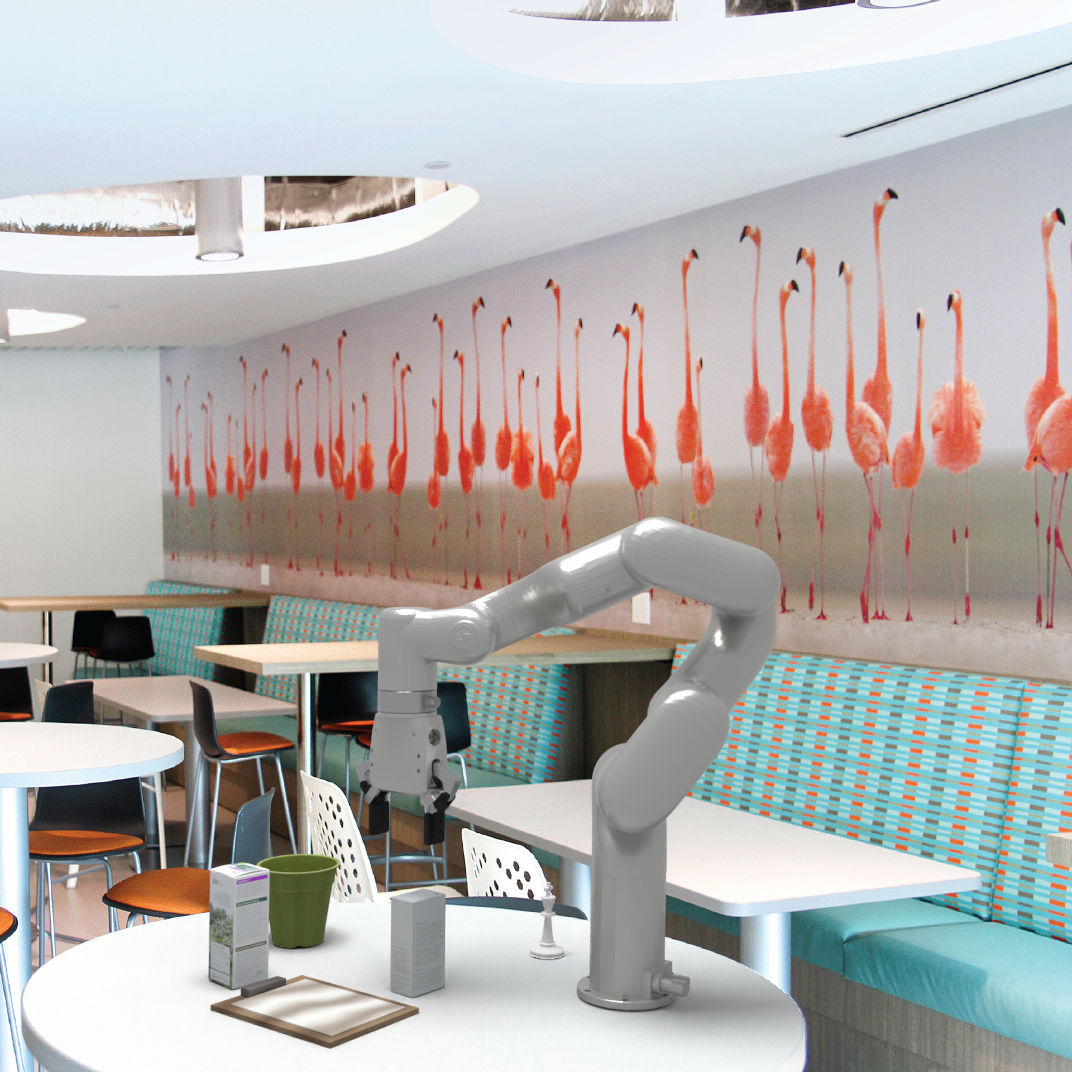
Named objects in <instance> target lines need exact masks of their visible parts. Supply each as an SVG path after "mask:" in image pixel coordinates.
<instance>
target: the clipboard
mask: <svg viewBox="0 0 1072 1072" xmlns="http://www.w3.org/2000/svg"><path fill="white" fill-rule="evenodd" d="M210 1011H213V1012H217V1013H220V1014H222V1015H225V1014H226V1015H225V1016H228V1015H229V1016H228V1017H231V1018H234V1017H235V1019H237V1018H239V1019H238V1020H241V1019H242V1020H241V1021H244V1020H245V1021H244V1022H248V1023H250V1022H251V1024H253V1023H255V1024H254V1025H256V1024H258V1025H257V1026H260V1027H262V1026H263V1027H262V1028H265V1027H266V1029H269V1030H272V1031H275V1032H278V1033H281V1034H285V1035H288V1036H291V1037H293V1038H294V1037H295V1038H297V1039H300V1040H303V1041H306V1042H309V1043H313V1044H316V1045H318V1046H319V1045H320V1046H322V1047H325V1048H328V1049H332V1048H334V1047H336V1046H339V1045H341V1043H342V1044H344V1043H346V1042H349V1041H352V1040H355V1039H356V1038H359V1037H362V1036H364V1035H367V1034H369V1033H371V1032H374V1031H376V1030H378V1029H382V1028H384V1027H387V1026H390V1025H392V1024H394V1023H397V1022H399V1021H401V1020H404V1019H407V1018H410V1017H412V1016H415V1015H417V1014H419V1013H420V1008H419V1007H417V1006H414V1005H410V1004H407V1003H403V1002H399V1001H397V1000H392V999H390V998H385V997H382V996H378V995H374V994H371V993H368V992H363V991H360V990H357V989H354V988H350V987H346V986H343V985H340V984H337V983H336V984H335V983H332V982H329V981H324V980H323V979H322V980H321V979H318V978H314V977H311V976H308V975H307V976H306V975H305V974H303V975H302V974H301V975H297V976H295V977H291V978H289V979H287V978H286V977H283V976H280V975H274V976H272V977H268V979H266V980H263V981H260V982H256V983H253V984H250V985H247V986H244V987H241V988H240V994H239V995H236V996H234V997H231V998H228V999H224V1000H221V1001H218V1002H215V1003H211V1004H210Z"/></svg>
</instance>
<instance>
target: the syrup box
mask: <svg viewBox="0 0 1072 1072" xmlns="http://www.w3.org/2000/svg"><path fill="white" fill-rule="evenodd" d="M269 886H270V870H269V869H266V868H262V867H259V866H256V865H255V864H252V863H249V862H235V863H230V864H229V863H228V864H224V865H220V866H216V867H214V868H210V872H209V919H208V920H209V923H208V924H209V925H208V928H209V929H208V981H210V982H211V981H212V982H214V983H216V984H219V985H221V986H224V987H225V988H229V989H231V990H236V989H237V990H238V989H241V987H244V986H247V985H250V984H253V983H256V982H260V981H263V980H266V979H269V945H270V943H269V941H270V940H269V938H270V936H269V935H270V933H269V931H270V923H269Z"/></svg>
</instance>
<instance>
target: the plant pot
mask: <svg viewBox="0 0 1072 1072" xmlns="http://www.w3.org/2000/svg"><path fill="white" fill-rule="evenodd" d="M340 865H341V860H340V859H338V858H336V857H332V856H329V855H323V854H313V853H297V854H296V853H295V854H285V855H277V856H272V857H267V858H265V859H263V860H259V861H258V862H257V863H256V865H255V866H259V867H262V868H266V869H269V870H270V886H269V931H270V935H271V937H270V938H271V941H272V944H273V945H275V946H276V947H279V946H280V948H284V947H286V948H285V949H295V948H296V947H303V948H312V947H314V946H316V945H319V944H321V943H322V942H323V940H324V937H325V933H326V927H327V926H326V925H327V920H328V913H329V908H330V902H331V897H332V891H333V886H334V885H333V884H334V883H335V879H336V874H337V869H338V868H339V867H340Z"/></svg>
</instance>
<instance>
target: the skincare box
mask: <svg viewBox="0 0 1072 1072" xmlns="http://www.w3.org/2000/svg"><path fill="white" fill-rule="evenodd" d="M446 897H447V896H446V893H443V892H440V891H435V890H433V889H432V890H431V889H428V888H420V889H417V890H413V891H408V892H406V893H401V894H397V895H393V896H391V897H390V898H391V899H390V900H391V901H390V904H391V905H390V968H389V969H390V973H389V974H390V975H389V976H390V979H389V980H390V981H389V983H390V984H389V985H390V986H389V987H390V988H389V989H390V992H391V993H396V994H398V995H402V996H405V997H408V998H412V999H413V998H416V997H418V996H421V995H424V994H427V993H430V992H434V991H436V990H439V989H441V988H444V987H445V985H446V981H445V980H446V907H447V906H446V905H447V903H446V899H447V898H446Z"/></svg>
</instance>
